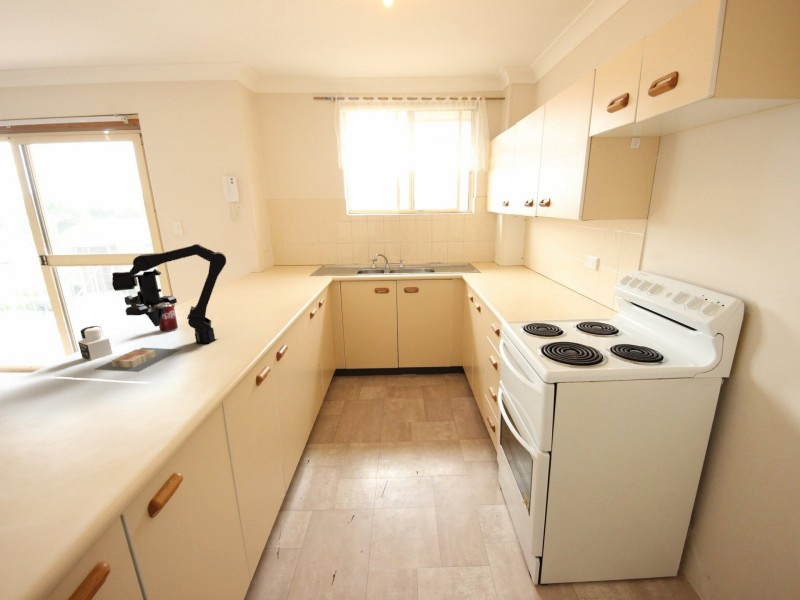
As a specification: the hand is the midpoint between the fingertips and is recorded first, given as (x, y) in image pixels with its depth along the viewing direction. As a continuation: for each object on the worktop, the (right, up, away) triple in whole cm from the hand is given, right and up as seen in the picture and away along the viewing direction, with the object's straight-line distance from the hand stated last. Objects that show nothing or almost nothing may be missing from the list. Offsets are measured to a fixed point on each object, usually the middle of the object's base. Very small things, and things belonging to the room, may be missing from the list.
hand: (156, 326), depth 139 cm
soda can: (-13, -4, +27) cm, 31 cm away
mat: (-1, -12, -7) cm, 14 cm away
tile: (-1, -10, -5) cm, 11 cm away
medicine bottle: (-21, -12, -3) cm, 24 cm away
